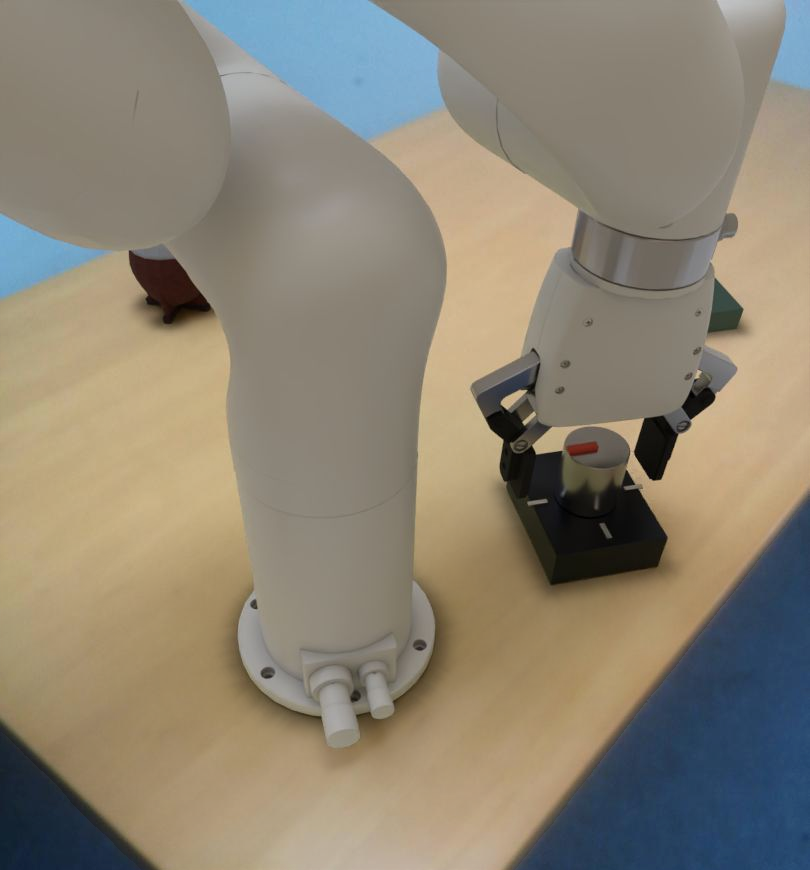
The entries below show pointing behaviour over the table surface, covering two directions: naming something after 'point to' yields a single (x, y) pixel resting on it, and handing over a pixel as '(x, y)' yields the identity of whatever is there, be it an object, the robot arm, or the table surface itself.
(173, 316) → the mate gourd
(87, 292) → the table surface
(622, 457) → the knob
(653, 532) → the panel
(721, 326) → the housing
